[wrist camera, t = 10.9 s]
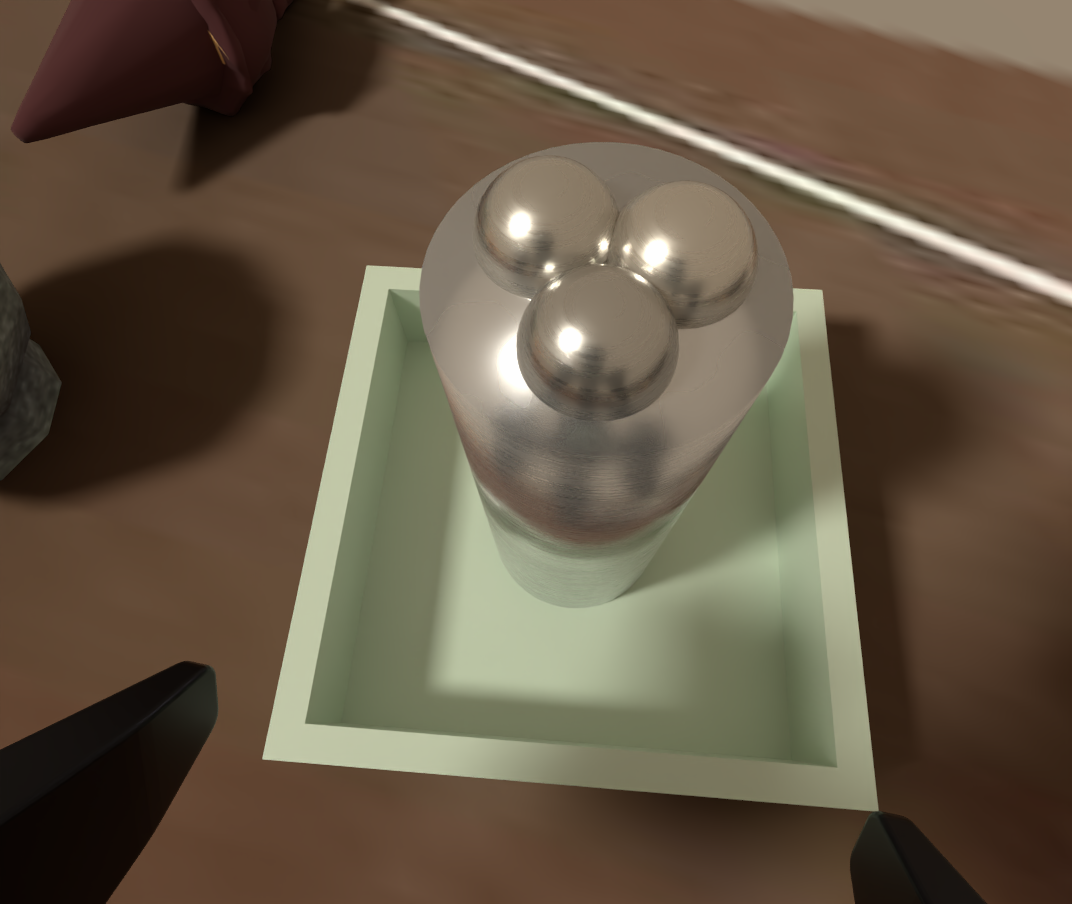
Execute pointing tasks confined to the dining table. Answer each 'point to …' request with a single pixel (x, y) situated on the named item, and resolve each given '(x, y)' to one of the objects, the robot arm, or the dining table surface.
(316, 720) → the pale green bin
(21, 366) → the mortar and pestle
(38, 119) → the icecream
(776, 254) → the cylinder with three balls
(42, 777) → the robot arm
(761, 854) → the dining table surface
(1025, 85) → the dining table surface
